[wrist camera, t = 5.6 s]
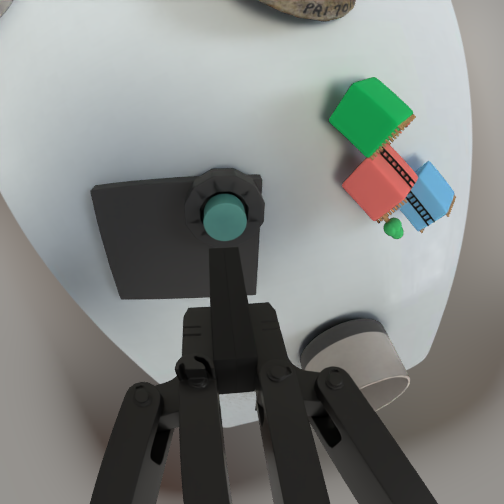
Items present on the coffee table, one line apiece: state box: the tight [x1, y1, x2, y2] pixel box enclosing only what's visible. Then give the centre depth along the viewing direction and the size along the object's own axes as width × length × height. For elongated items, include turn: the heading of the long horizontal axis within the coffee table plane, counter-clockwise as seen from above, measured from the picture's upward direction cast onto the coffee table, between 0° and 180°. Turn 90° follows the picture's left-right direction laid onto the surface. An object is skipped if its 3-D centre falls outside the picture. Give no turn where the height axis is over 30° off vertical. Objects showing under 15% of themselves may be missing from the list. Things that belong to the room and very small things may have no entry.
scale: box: [91, 168, 265, 299], centre depth 23 cm, size 14×13×3 cm
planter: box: [300, 319, 410, 411], centre depth 33 cm, size 13×13×10 cm
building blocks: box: [329, 77, 456, 239], centre depth 19 cm, size 8×8×12 cm
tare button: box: [203, 194, 247, 241], centre depth 20 cm, size 3×3×2 cm
